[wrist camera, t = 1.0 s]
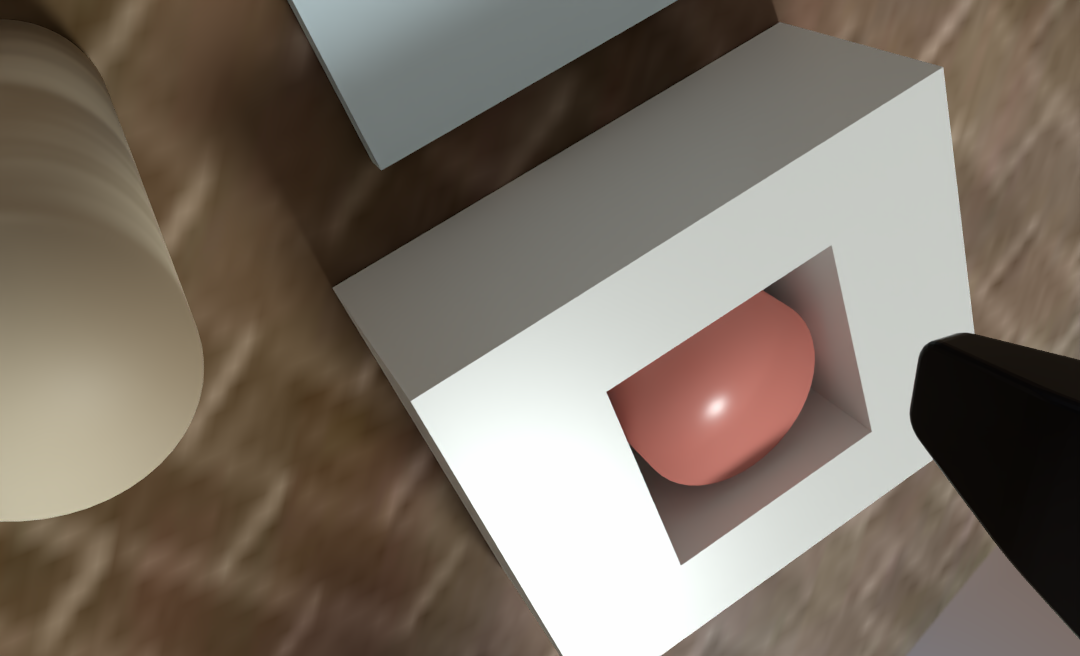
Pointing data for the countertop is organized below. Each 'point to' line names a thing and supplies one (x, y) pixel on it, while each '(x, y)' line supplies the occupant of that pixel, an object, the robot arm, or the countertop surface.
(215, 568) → the countertop surface
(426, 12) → the pad
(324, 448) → the countertop surface
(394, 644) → the countertop surface
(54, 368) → the dowel
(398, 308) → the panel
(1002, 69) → the countertop surface
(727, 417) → the button
